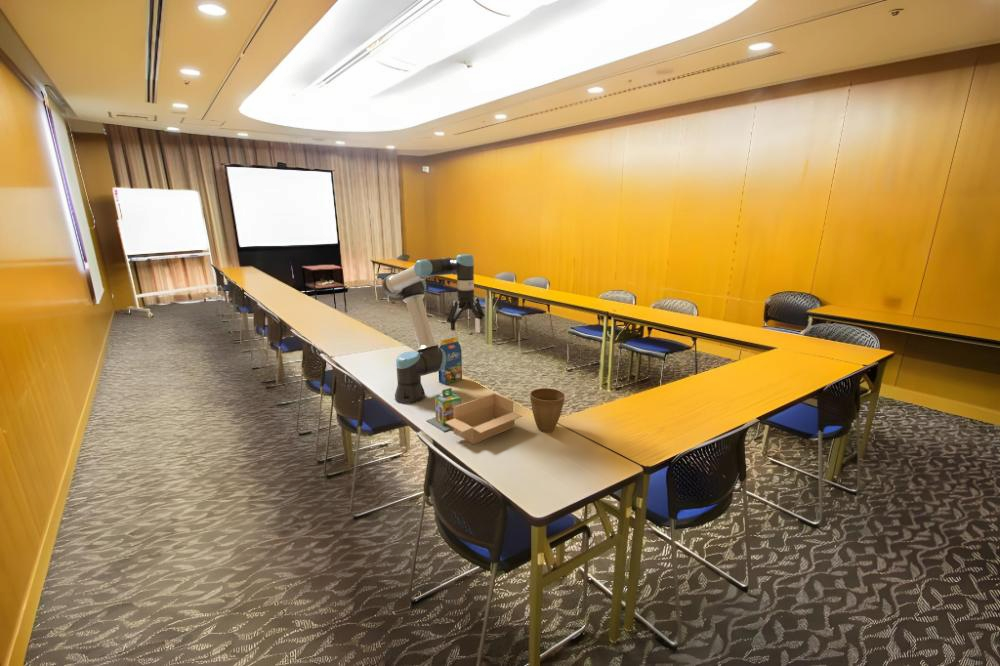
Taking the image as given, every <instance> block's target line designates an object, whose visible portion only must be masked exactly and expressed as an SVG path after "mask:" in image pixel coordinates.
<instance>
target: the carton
mask: <svg viewBox="0 0 1000 666" xmlns="http://www.w3.org/2000/svg"><path fill="white" fill-rule="evenodd" d="M453 409H454V419H452V420H449V421H446V422H445V423H446V424H448V425H450V426H452V427H453V428H454V429H453V434H455V435H456V436H458V437H460V438H462V439H464V440H465V441H467V442H468V443H471V444H472V445H474V444H477V443H479V442H482V441H484V440H486V439H488V438H491V437H494V436H496V435H499V434H500V433H504V432H505V431H507V430H510V429H512V428H515V420H517V419H520V418H522V417H523V415H522V414H520V413H518V412H516V411H514V400H512V399H510V398H507V397H506V396H505V397H504V396H502V395H500V394H498V393H496V392H494V393H491V394H488V395H485V396H482V397H479V398H476V399H473V400H470V401H467V402H464V403H461V405H458V406H455V407H453Z"/></svg>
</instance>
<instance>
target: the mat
mask: <svg viewBox="0 0 1000 666" xmlns="http://www.w3.org/2000/svg"><path fill="white" fill-rule="evenodd" d="M426 422H427V423H428V424H429V425H431V426H433V427H435V428H437V429H439V430H440V431H442V432H444V433H446V432H449V431H452V430H454V428H453V427H452V426H450V425H447V426H443V425H442V424H441V423H440V422H438V421H437V420H436V416H434V417H432V418H428V419H426Z"/></svg>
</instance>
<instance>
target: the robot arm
mask: <svg viewBox="0 0 1000 666" xmlns="http://www.w3.org/2000/svg"><path fill="white" fill-rule="evenodd" d="M474 269H475V262H474V255H472V254H468V253H466V254H457V255H456V258H455V257H447V256H446V257H443V258H429V259H428V258H427V259H426V258H425V259H424V258H423V259H419V260H417V261H415V263H414V265H413V266H410V267H409V268H407V269H404V270H402V271H400V272H398V273H391V274H389V275H387V276H385V277H384V278H383V280H382V283H381V289H382V291H383V293H384V294H385V295H387V296H389V297H391V298H401V300H402V301H403V302H404V303H405V304H406V307H407V310H408V314H409V318H410V321H411V324H412V328H413V332H414V335H415V339H416V343H417V349H416V351H414V350H411V351H406V352H402V353H400V354H398V356H397V357H396V365H395V367H396V379H397V386H396V389H395V393H394V400H395V401H396V402H397V403H399V404H415V403H418V402H422V401H423V400H424V399H425V398H426V393H425V389H424V387H423V384H422V379H421V378H422V376H425V375H427V376H428V375H431V374H434V373H439V371H440V370H442V369H443V368H444V367H445V364H446V354H445V352H444V351H443V349H440V348H439V347H440V345H439V344H438V343H436V342H435V341H434V337H433V332H432V329H431V325H430V322H429V319H428V314H427V311H426V307H425V304H424V300H423V299H424V297H425V293H426V291H427V282H426V279H428V278H431V277H436V276H439V277H440V276H447V275H456V281H457V282H456V287H457V290H456V291H457V293H456V294H457V299H458V300H457V301H456V300H452V302H451V308H450V311H449V313H448V316H447V319H446V322H447V323H450V330H451V331H452V332H451V333H452V334H451V335H452V336H451V338H457V337H458V323H457V321H458V319H459V318H460V316H461V314H462V312H464V311H466V310H470V311H471V312H472V313H473V315H474V316H475V318H474V322H475V325H474V326H475V327H474V329H475V331H474V332H475V333H479V334H480V333H481V326H482V320H483V318H484V317H485V315H486V314H485V313H484V310H483V308H482V305H481V303H480V298H479V297H475V290H474V288H475V285H474V284H475V277H474V276H475V270H474Z"/></svg>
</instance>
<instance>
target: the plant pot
mask: <svg viewBox="0 0 1000 666" xmlns="http://www.w3.org/2000/svg"><path fill="white" fill-rule="evenodd" d="M529 397H530V403H531V405H530V406H531V410H532V415H533V418H534V422H535V425H536V427H537V430H538V431H540V432H544V433H551V432H553V431H555V429H556V427H557V424H558V423H559V420H560V417H561V413H562V410H563V407H564V403H565V398H566V394H565V392H563V391H561V390H558V389H555V388H546V387H542V388H536V389H533V390H532V391H530V393H529Z"/></svg>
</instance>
